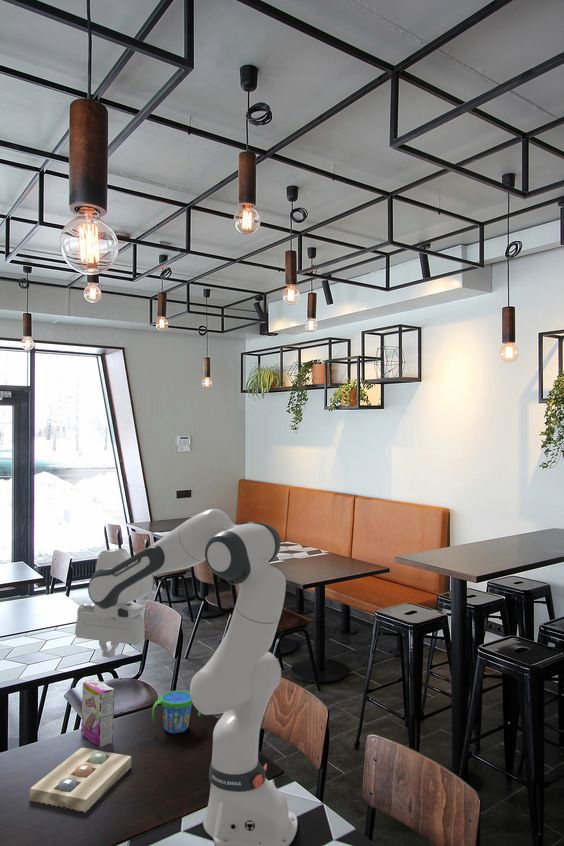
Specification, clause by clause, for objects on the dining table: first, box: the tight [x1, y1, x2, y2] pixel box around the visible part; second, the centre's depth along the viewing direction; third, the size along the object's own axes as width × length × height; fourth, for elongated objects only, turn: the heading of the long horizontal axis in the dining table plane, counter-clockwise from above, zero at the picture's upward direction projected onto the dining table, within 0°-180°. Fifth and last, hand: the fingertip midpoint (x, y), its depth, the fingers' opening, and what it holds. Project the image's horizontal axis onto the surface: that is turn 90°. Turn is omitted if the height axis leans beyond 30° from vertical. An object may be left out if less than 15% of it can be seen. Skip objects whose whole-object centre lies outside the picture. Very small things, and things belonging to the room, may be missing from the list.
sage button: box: [90, 751, 106, 765], centre depth 166 cm, size 4×4×4 cm
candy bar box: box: [80, 678, 116, 749], centre depth 183 cm, size 11×5×16 cm, turn 47°
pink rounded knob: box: [75, 764, 92, 778], centre depth 159 cm, size 4×4×4 cm
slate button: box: [59, 778, 76, 792], centre depth 152 cm, size 4×4×4 cm
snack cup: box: [151, 690, 202, 734], centre depth 191 cm, size 16×10×10 cm
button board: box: [29, 747, 132, 813], centre depth 159 cm, size 16×22×3 cm
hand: (108, 656), depth 166 cm, fingers closed
